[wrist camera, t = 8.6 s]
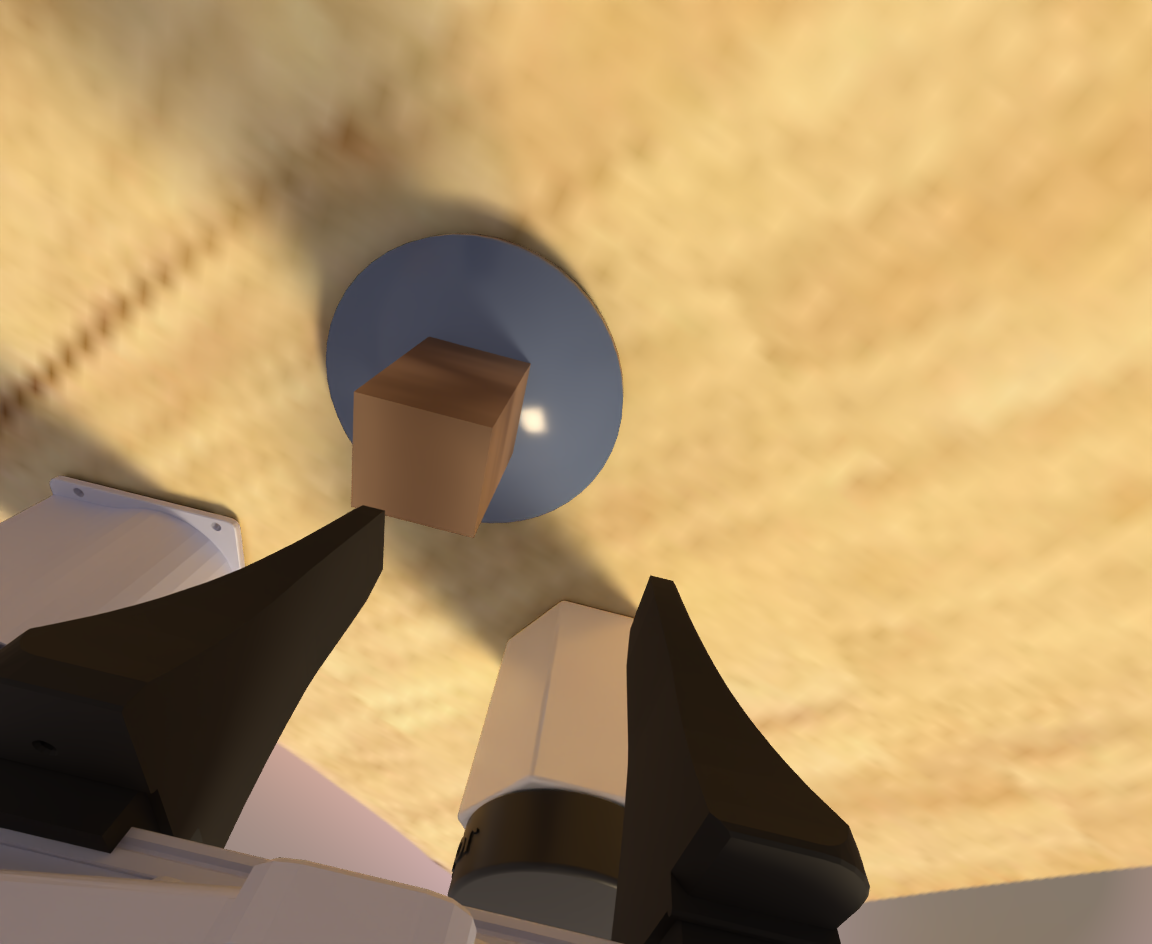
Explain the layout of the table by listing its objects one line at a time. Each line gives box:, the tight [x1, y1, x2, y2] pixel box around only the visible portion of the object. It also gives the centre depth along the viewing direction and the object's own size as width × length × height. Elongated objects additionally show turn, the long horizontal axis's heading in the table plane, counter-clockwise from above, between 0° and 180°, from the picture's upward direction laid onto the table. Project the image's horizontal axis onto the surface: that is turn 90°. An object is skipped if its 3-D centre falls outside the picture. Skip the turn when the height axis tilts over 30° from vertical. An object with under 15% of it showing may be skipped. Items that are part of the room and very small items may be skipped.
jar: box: [448, 601, 634, 941], centre depth 24 cm, size 9×8×12 cm
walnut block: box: [351, 337, 531, 538], centre depth 18 cm, size 4×4×6 cm
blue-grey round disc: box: [326, 233, 623, 523], centre depth 21 cm, size 12×12×1 cm
